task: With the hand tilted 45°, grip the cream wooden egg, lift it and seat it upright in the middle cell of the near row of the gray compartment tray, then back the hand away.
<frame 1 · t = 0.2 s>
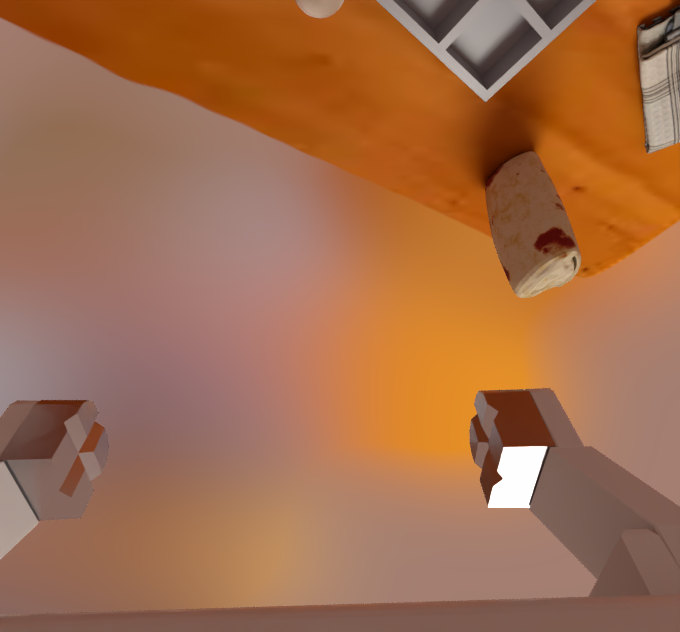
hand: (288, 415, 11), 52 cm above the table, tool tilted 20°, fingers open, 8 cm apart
food model: (507, 172, 70), on the table
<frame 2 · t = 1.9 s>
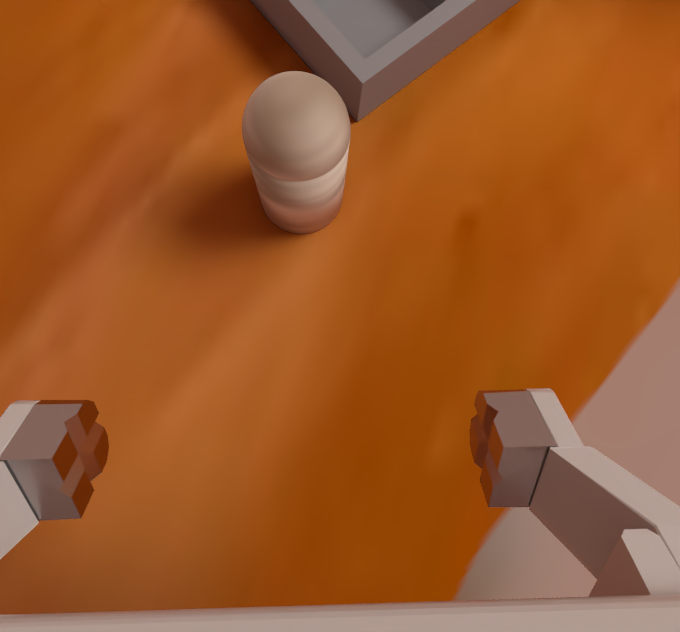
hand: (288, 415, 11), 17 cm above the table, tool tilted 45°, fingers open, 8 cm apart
egg: (301, 194, 30), on the table
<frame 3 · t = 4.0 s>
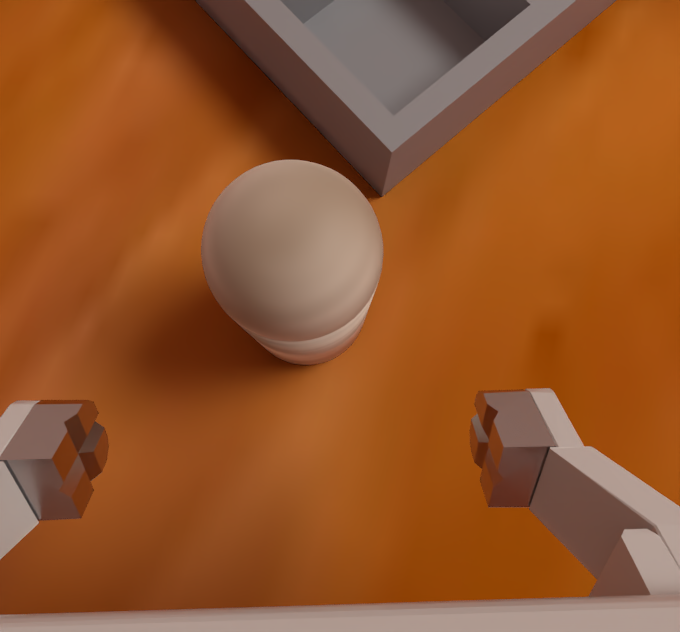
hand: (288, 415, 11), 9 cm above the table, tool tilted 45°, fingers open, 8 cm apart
egg: (307, 306, 21), on the table
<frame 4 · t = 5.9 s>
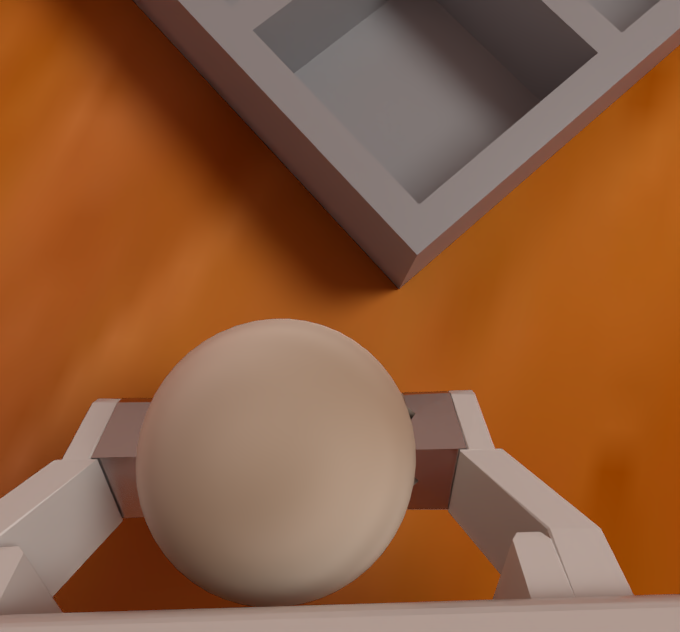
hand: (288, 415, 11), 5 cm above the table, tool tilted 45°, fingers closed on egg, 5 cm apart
egg: (303, 433, 16), on the table, touching gripper
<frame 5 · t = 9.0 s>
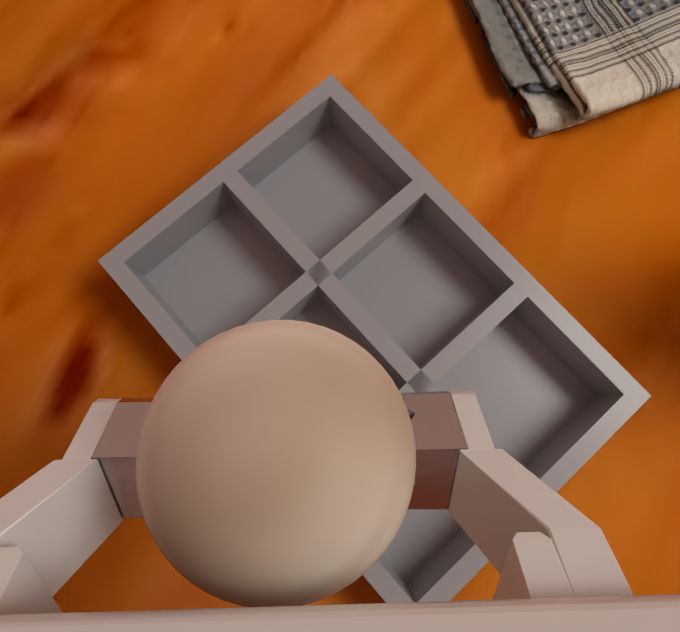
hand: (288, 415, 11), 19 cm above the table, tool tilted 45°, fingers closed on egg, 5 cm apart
gray compartment tray: (364, 337, 31), on the table
dish towel: (588, 5, 36), on the table
egg: (304, 434, 16), point 14 cm above the table, touching gripper
when the fingers open (8 cm above the table, at t = 12.5 s): egg drops 1 cm, resting on gray compartment tray.
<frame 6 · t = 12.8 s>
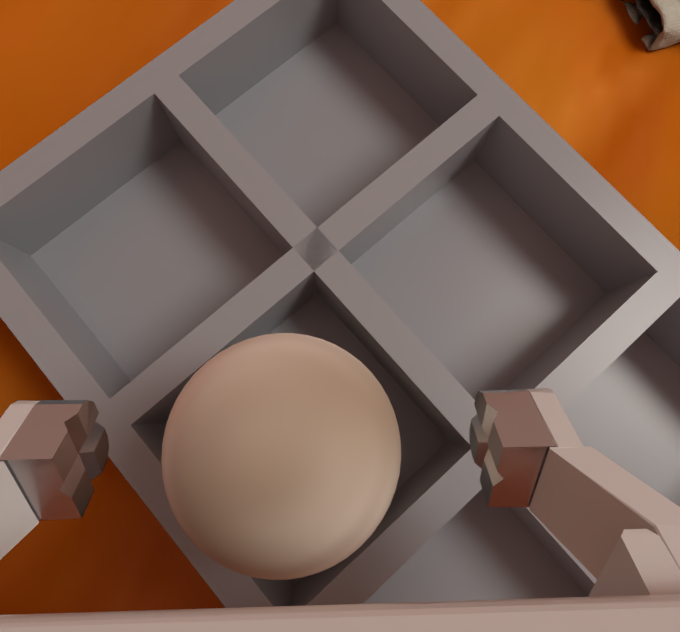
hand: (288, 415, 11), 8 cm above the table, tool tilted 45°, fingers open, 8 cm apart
gray compartment tray: (389, 358, 19), on the table
egg: (304, 431, 18), point 1 cm above the table, touching gray compartment tray
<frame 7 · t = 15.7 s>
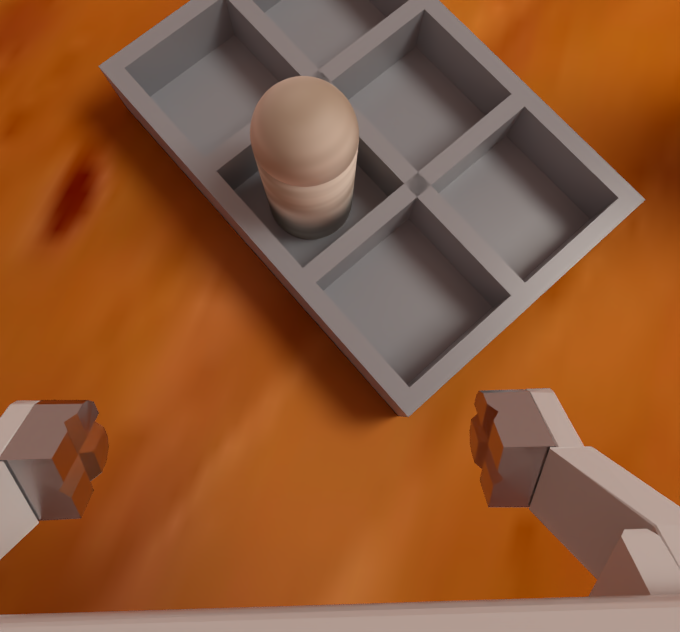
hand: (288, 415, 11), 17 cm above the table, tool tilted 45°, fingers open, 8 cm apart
gray compartment tray: (362, 165, 31), on the table
egg: (310, 200, 29), point 1 cm above the table, touching gray compartment tray
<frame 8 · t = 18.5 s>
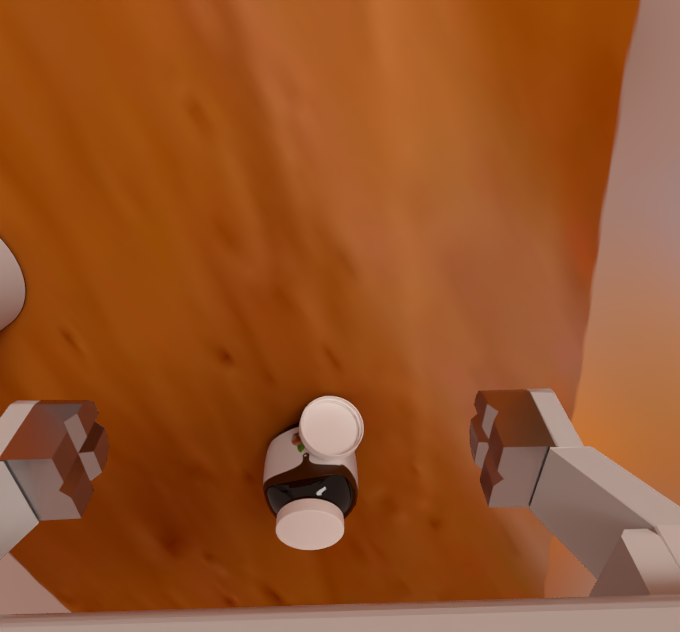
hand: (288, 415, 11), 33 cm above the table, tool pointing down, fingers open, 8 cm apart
spread jar: (316, 427, 59), on the table
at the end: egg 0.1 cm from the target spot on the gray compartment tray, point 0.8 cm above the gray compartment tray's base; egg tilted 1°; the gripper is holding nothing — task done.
